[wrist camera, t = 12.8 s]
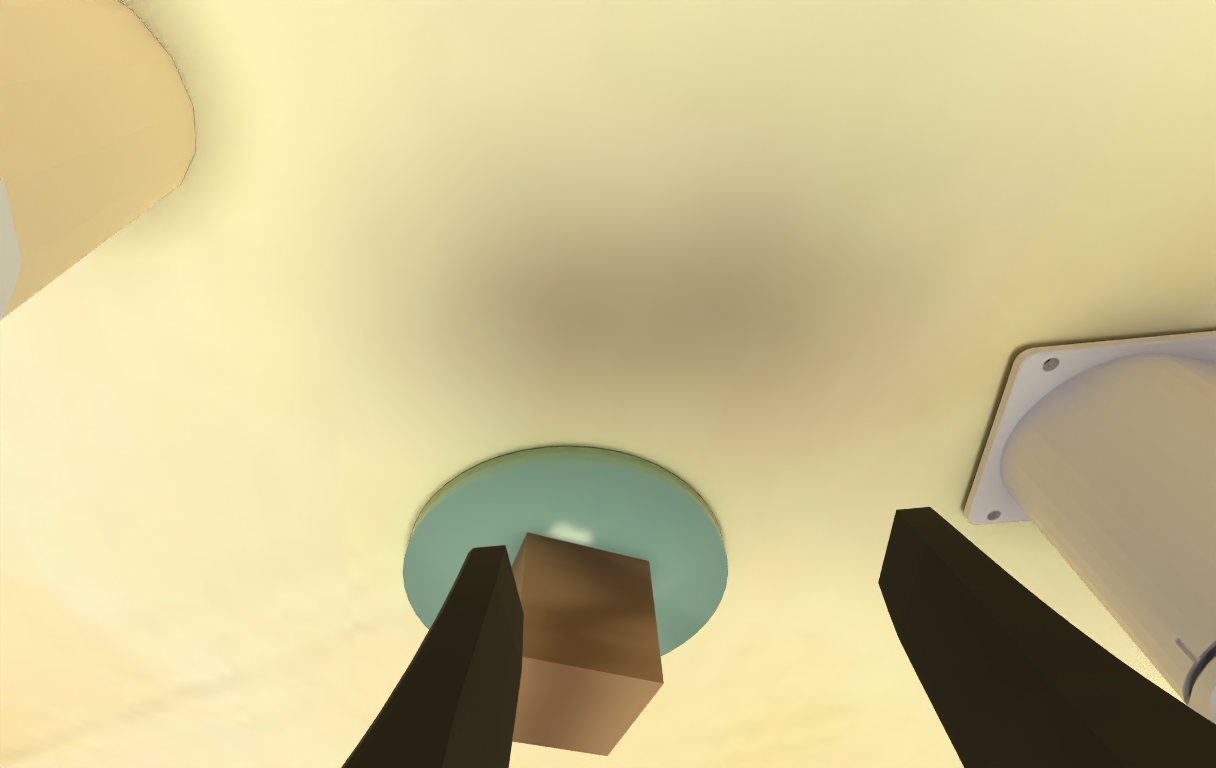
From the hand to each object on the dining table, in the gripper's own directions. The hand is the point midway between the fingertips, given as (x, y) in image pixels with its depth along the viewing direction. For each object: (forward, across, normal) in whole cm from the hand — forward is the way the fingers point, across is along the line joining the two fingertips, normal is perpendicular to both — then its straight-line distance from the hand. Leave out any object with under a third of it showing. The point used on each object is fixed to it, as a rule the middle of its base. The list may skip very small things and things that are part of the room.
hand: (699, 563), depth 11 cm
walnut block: (+8, +4, +11) cm, 14 cm away
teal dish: (+9, +4, +11) cm, 15 cm away
